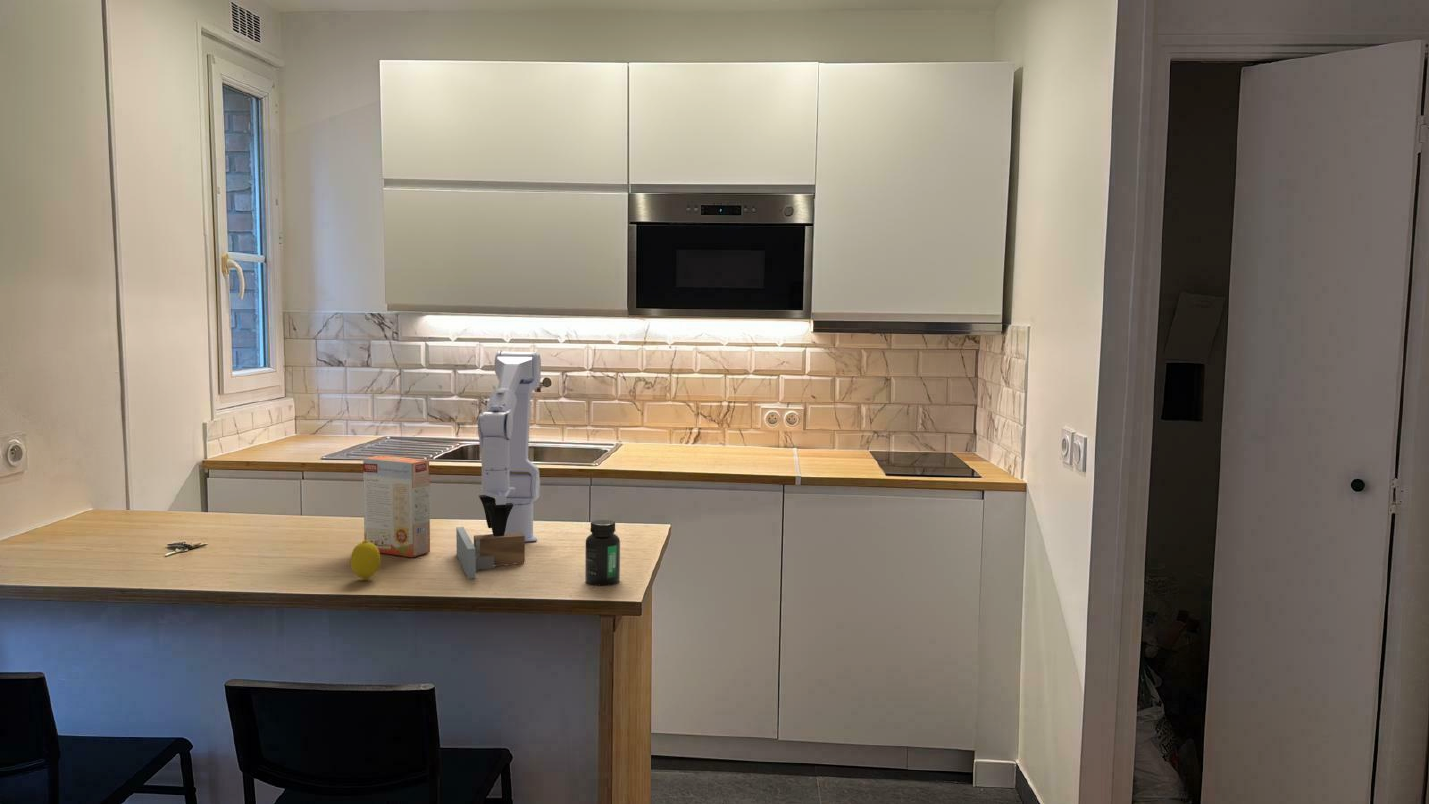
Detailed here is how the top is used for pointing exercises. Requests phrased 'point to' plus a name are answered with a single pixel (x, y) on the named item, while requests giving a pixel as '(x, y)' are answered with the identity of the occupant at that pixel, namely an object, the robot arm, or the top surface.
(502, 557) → the block
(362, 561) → the lemon
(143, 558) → the top surface
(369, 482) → the cracker box
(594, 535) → the supplement bottle
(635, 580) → the top surface
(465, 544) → the grey plank with pegs
